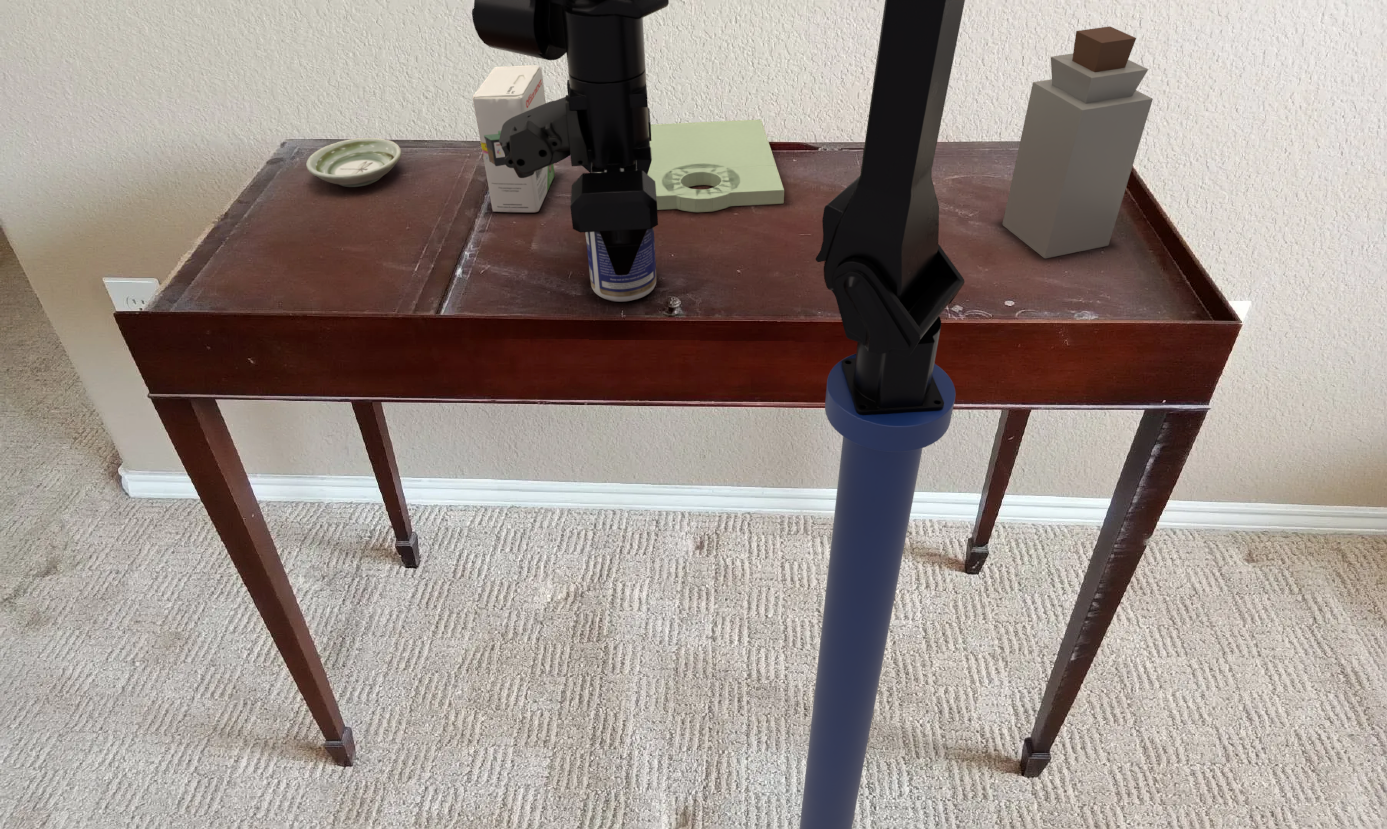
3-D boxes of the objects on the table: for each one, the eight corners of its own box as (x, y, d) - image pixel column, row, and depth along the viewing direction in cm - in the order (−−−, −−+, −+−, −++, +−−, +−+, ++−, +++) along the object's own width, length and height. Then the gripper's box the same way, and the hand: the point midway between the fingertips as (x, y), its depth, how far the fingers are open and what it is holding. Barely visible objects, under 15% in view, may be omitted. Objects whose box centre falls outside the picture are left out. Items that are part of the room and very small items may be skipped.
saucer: (322, 160, 101) (316, 139, 100) (411, 155, 102) (406, 134, 100) (303, 200, 94) (296, 178, 92) (399, 194, 94) (393, 171, 93)
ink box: (510, 175, 97) (492, 62, 90) (556, 176, 97) (542, 62, 89) (490, 212, 91) (469, 94, 83) (539, 213, 90) (522, 95, 83)
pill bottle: (670, 284, 80) (666, 177, 73) (623, 312, 76) (614, 202, 70) (625, 262, 83) (617, 158, 76) (577, 287, 80) (564, 180, 73)
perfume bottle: (1063, 213, 88) (1113, 17, 77) (1108, 245, 83) (1170, 41, 72) (1002, 224, 87) (1044, 27, 75) (1044, 258, 82) (1097, 52, 70)
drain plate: (785, 208, 90) (785, 194, 89) (622, 216, 90) (621, 202, 89) (761, 131, 105) (761, 118, 104) (621, 138, 104) (620, 125, 103)
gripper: (508, 34, 75) (533, 209, 85) (483, 124, 60) (517, 322, 70) (645, 28, 75) (654, 203, 85) (652, 116, 61) (662, 314, 71)
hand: (621, 255), depth 78 cm, fingers closed on pill bottle, 6 cm apart
